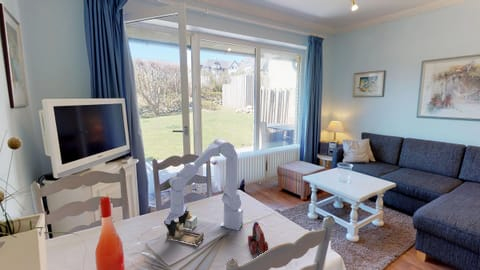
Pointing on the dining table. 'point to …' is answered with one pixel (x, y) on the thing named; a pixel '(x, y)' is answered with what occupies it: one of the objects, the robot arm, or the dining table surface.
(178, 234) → the block
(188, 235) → the rail deck
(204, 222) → the dining table surface
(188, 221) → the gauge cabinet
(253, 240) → the toy fire truck
